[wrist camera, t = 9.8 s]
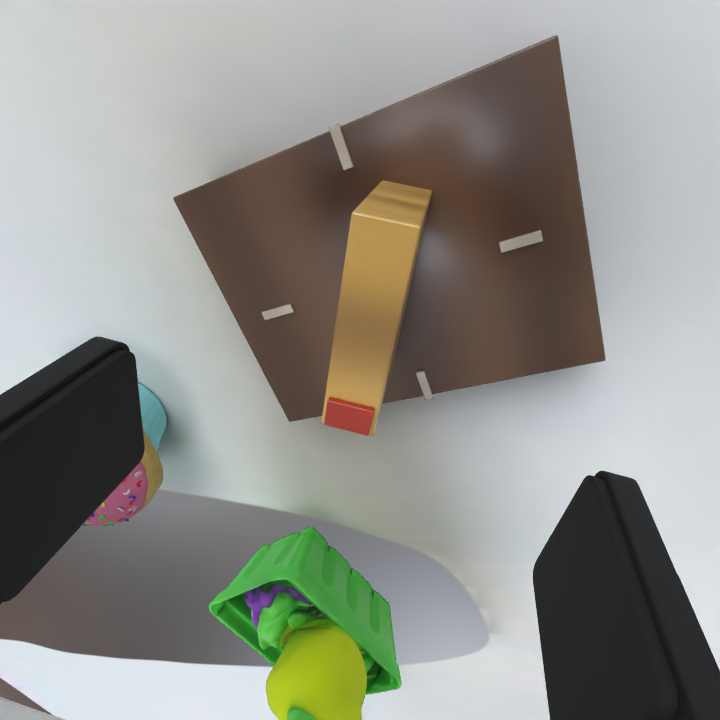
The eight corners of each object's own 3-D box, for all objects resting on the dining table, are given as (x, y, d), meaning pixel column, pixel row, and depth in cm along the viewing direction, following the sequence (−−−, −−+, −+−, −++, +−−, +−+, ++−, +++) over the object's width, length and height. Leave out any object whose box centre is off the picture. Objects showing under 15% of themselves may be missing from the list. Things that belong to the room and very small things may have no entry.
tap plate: (541, 40, 15) (558, 29, 13) (588, 329, 20) (607, 365, 17) (207, 182, 20) (168, 196, 17) (307, 390, 25) (288, 426, 22)
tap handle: (381, 179, 16) (349, 213, 11) (433, 190, 16) (420, 229, 11) (351, 351, 19) (318, 428, 15) (393, 361, 19) (372, 442, 15)
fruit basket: (235, 540, 33) (140, 725, 23) (327, 499, 29) (259, 702, 19) (335, 630, 36) (288, 824, 26) (429, 605, 32) (415, 823, 23)
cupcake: (43, 383, 29) (-190, 545, 18) (122, 322, 25) (-114, 481, 15) (142, 477, 31) (-13, 663, 21) (226, 434, 28) (88, 633, 17)
